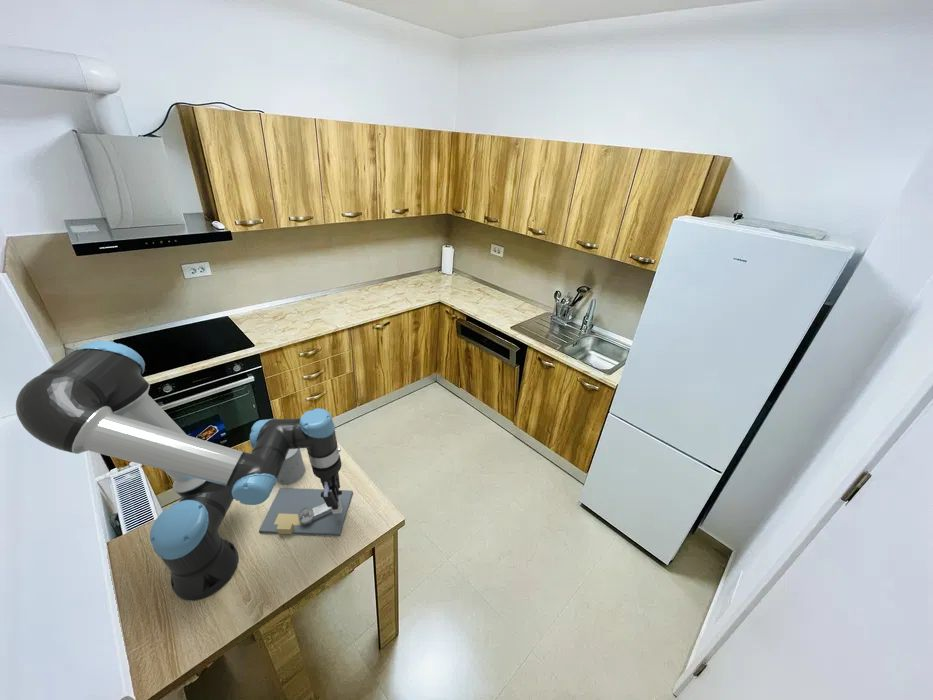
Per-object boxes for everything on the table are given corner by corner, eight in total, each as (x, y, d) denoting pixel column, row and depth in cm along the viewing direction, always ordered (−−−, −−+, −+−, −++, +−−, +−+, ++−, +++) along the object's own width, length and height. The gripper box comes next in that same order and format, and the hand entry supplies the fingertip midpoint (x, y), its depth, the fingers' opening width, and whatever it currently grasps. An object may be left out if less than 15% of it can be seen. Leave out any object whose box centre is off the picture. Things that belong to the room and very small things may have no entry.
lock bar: (301, 528, 111) (295, 509, 106) (298, 517, 114) (291, 497, 109) (344, 509, 117) (340, 489, 112) (339, 498, 120) (335, 479, 115)
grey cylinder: (270, 475, 128) (261, 450, 121) (294, 458, 135) (288, 434, 128) (286, 489, 124) (278, 465, 117) (311, 471, 130) (304, 447, 124)
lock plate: (258, 535, 110) (254, 524, 107) (280, 490, 123) (277, 479, 120) (339, 537, 111) (337, 527, 108) (352, 492, 124) (351, 482, 121)
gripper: (336, 477, 95) (347, 530, 108) (343, 440, 106) (352, 492, 118) (305, 479, 94) (320, 532, 107) (315, 441, 105) (328, 494, 117)
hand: (337, 511), depth 112 cm, fingers closed
